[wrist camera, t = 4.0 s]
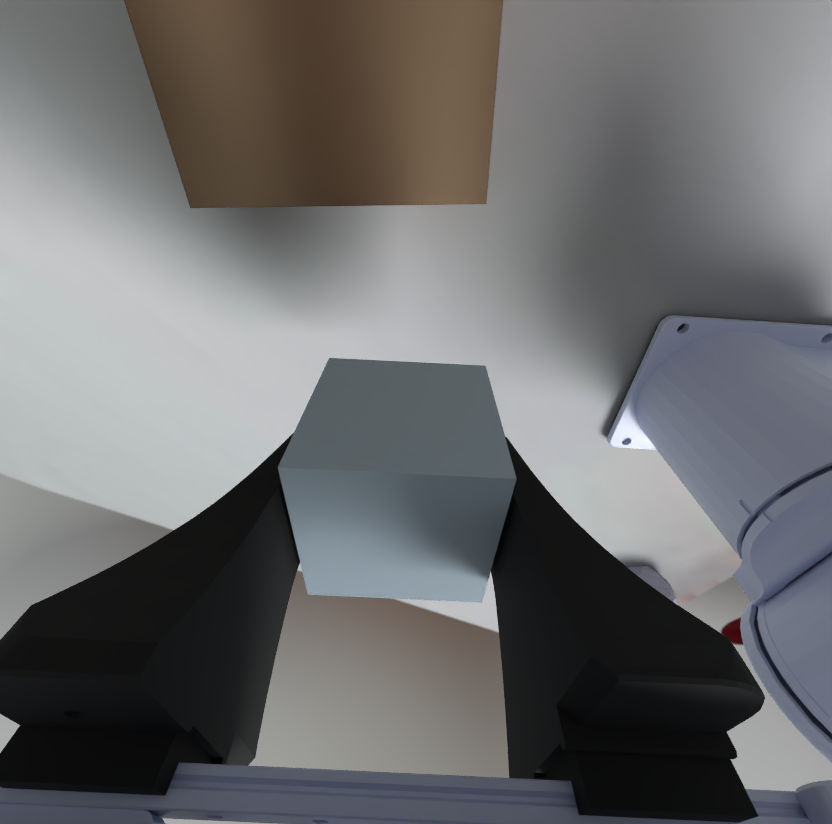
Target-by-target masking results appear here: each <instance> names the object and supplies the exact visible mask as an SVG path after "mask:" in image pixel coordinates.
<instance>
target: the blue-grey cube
mask: <svg viewBox="0 0 832 824" xmlns="http://www.w3.org/2000/svg"><path fill="white" fill-rule="evenodd" d="M278 471H279V475H280V479H281V483H282V488H283V492H284V496H285V500H286V504H287V509H288V513H289V517H290V521H291V525H292V530H293V534H294V538H295V542H296V546H297V551H298V555H299V559H300V563H301V568H302V572H303V576H304V580H305V584H306V588H307V592H308V594H309V595H330V596H352V597H376V598H396V599H417V600H439V601H461V602H482V600H483V596H484V593H485V589H486V586H487V582H488V578H489V575H490V571H491V568H492V564H493V561H494V557H495V554H496V550H497V547H498V543H499V539H500V536H501V532H502V529H503V525H504V522H505V518H506V515H507V511H508V508H509V504H510V501H511V497H512V493H513V490H514V486H515V483H516V479H517V478H516V475H515V471H514V468H513V464H512V460H511V457H510V453H509V449H508V446H507V442H506V439H505V435H504V431H503V428H502V424H501V420H500V417H499V413H498V410H497V406H496V402H495V399H494V395H493V391H492V388H491V384H490V381H489V377H488V373H487V370H486V366H478V365H458V364H438V363H418V362H398V361H378V360H358V359H338V358H329V360H328V362H327V364H326V366H325V368H324V371H323V373H322V375H321V377H320V379H319V381H318V383H317V385H316V387H315V390H314V392H313V394H312V396H311V398H310V400H309V402H308V404H307V407H306V409H305V411H304V413H303V415H302V417H301V419H300V421H299V423H298V426H297V428H296V430H295V432H294V434H293V436H292V438H291V440H290V443H289V445H288V447H287V449H286V451H285V453H284V455H283V457H282V459H281V462H280V464H279V466H278Z"/></svg>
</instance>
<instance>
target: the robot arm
mask: <svg viewBox="0 0 832 824" xmlns="http://www.w3.org/2000/svg"><path fill="white" fill-rule="evenodd" d="M682 324H684V327H683V328H682V329H680V330H678V331H677V329H678V327H679V326H680V325H682ZM825 335H826V336H825ZM824 336H825V337H824ZM823 337H824V338H823ZM293 434H294V433H293ZM293 434H292V435H291V436H290V437H289V438H288V439H287V440H286V441H285V442H284V443H283V444H282V445H281V446H280V447H279V448H278V449H277V450H275V451H274V452H273V453H272V454H271V455H270V456H269V457H268V458H267V459H266V460H265V461H264V462H263V463H262V464H261V465H259V466H258V467H257V468H256V469H255V470H254V471H253V472H252V473H251V474H249V475H248V476H247V477H246V478H245V479H244V480H242V481H241V482H240V483H239V484H238V485H236V486H235V487H234V488H233V489H232V490H230V491H229V492H228V493H227V494H225V495H224V496H223V497H222V498H220V499H219V500H218V501H216V502H215V503H214V504H212V505H211V506H210V507H208V508H207V509H205V510H204V511H203V512H201V513H200V514H198V515H197V516H195V517H194V518H193V519H191V520H190V521H188V522H186V523H185V524H183V525H182V526H180V527H178V528H177V529H175V530H174V531H172V532H171V533H169V534H167V535H166V536H164V537H163V538H161V539H159V540H158V541H156V542H155V543H153V544H151V545H149V546H148V547H146V548H144V549H143V550H141V551H139V552H137V553H135V554H134V555H132V556H130V557H128V558H127V559H125V560H123V561H121V562H119V563H117V564H115V565H114V566H112V567H110V568H108V569H106V570H104V571H102V572H100V573H98V574H96V575H95V576H92V577H90V578H88V579H86V580H84V581H82V582H80V583H78V584H76V585H73V586H71V587H69V588H68V589H65V590H63V591H61V592H59V593H57V594H55V595H53V596H50V597H48V598H46V599H44V600H42V601H40V602H38V603H35V604H33V605H31V606H30V607H29V609H27V611H26V612H25V613H24V614H23V615H22V616H21V617H20V618H19V619H18V621H17V622H16V623H15V624H14V625H13V626H12V628H11V629H10V630H9V631H8V632H7V633H6V634H5V635H4V637H3V638H2V639H1V640H0V714H2V715H4V716H5V717H7V718H9V719H10V720H12V721H14V722H16V723H17V724H19V725H20V727H19V728H18V729H17V731H16V732H15V734H14V735H13V736H12V738H11V739H10V741H9V742H8V743H7V745H6V746H5V748H4V749H3V750H2V752H1V753H0V824H165V823H164V821H163V819H162V818H173V819H193V820H194V819H195V820H214V821H237V822H258V823H279V824H832V780H829V781H828V780H827V781H818V782H813V783H809V784H806V785H803V786H801V787H799V788H797V789H796V791H795V792H793V791H792V792H791V791H770V790H750V789H745V788H744V786H743V784H742V782H741V780H740V778H739V776H738V774H737V772H736V770H735V768H734V766H733V764H732V762H731V760H730V759H734V758H736V757H737V752H736V750H735V748H734V746H733V744H732V742H731V740H730V738H729V736H728V734H727V731H728V730H730V729H732V728H733V727H735V726H737V725H738V724H740V723H742V722H743V721H745V720H747V719H748V718H750V717H752V716H753V715H754V714H755V713H757V712H758V711H759V710H760V709H761V707H762V705H763V703H764V699H765V697H764V694H763V692H762V690H761V688H760V687H759V685H758V683H757V682H756V680H755V679H754V677H753V675H752V674H751V672H750V670H749V669H748V667H747V666H746V664H745V662H744V661H743V659H742V658H741V656H740V655H739V653H738V652H737V650H736V649H735V647H734V646H733V644H732V643H731V641H730V640H729V639H728V638H727V637H725V636H724V635H722V634H721V633H719V632H718V631H716V630H715V629H713V628H711V627H710V626H709V625H707V624H706V623H704V622H703V621H701V620H700V619H698V618H696V617H695V616H693V615H692V614H690V613H689V612H687V611H686V610H684V609H683V608H681V607H680V606H678V605H677V604H675V603H674V602H673V601H671V600H670V599H668V598H667V597H666V596H664V595H663V594H662V593H660V592H659V591H657V590H656V589H655V588H653V587H652V586H651V585H649V584H648V583H646V582H645V581H644V580H643V579H641V578H640V577H639V576H637V575H636V574H635V573H633V572H632V571H631V570H630V569H628V568H627V567H626V566H625V565H624V564H622V563H621V562H620V561H619V560H618V559H616V558H615V557H614V556H613V555H612V554H610V553H609V552H608V551H607V550H606V549H604V548H603V547H602V546H601V545H600V544H599V543H598V542H596V541H595V540H594V539H593V538H592V537H591V536H590V535H589V534H588V533H587V532H586V531H585V530H584V529H583V528H582V527H581V526H580V525H579V524H577V523H576V522H575V521H574V520H573V519H572V518H571V516H570V515H569V514H568V513H567V512H566V511H565V510H564V509H563V508H562V507H561V506H560V505H559V503H558V502H557V501H556V500H555V499H554V498H553V497H552V496H551V494H550V493H549V492H548V491H547V490H546V488H545V487H544V486H543V485H542V483H541V482H540V481H539V480H538V479H537V477H536V476H535V475H534V474H533V472H532V471H531V470H530V468H529V467H528V466H527V464H526V463H525V462H524V460H523V459H522V458H521V456H520V455H519V454H518V452H517V451H516V449H515V448H514V447H513V445H512V444H511V442H510V441H509V440H508V439H507V437H505V439H506V442H507V446H508V449H509V453H510V457H511V460H512V464H513V468H514V471H515V475H516V478H517V479H516V483H515V486H514V490H513V493H512V497H511V501H510V504H509V508H508V511H507V515H506V518H505V522H504V525H503V529H502V532H501V536H500V539H499V543H498V547H497V550H496V554H495V557H494V561H493V564H492V568H491V574H492V578H493V584H494V591H495V598H496V607H497V617H498V626H499V637H500V648H501V658H502V670H503V683H504V697H505V710H506V726H507V741H508V759H509V778H496V777H475V776H454V775H432V774H412V773H390V772H369V771H348V770H326V769H306V768H284V767H264V766H248V765H249V764H250V763H251V762H252V760H253V759H254V758H255V755H256V749H257V744H258V739H259V733H260V728H261V723H262V718H263V713H264V708H265V703H266V698H267V693H268V688H269V684H270V679H271V674H272V669H273V665H274V660H275V655H276V651H277V647H278V642H279V638H280V634H281V629H282V625H283V621H284V617H285V613H286V609H287V605H288V601H289V597H290V593H291V589H292V585H293V582H294V579H295V575H296V572H297V569H298V566H299V564H300V559H299V555H298V551H297V546H296V542H295V538H294V534H293V530H292V525H291V521H290V517H289V513H288V509H287V504H286V500H285V496H284V492H283V488H282V483H281V479H280V475H279V471H278V466H279V464H280V462H281V459H282V457H283V455H284V453H285V451H286V449H287V447H288V445H289V443H290V440H291V438H292V436H293ZM626 438H628V439H627V440H625V441H623V440H624V439H626ZM607 441H608V443H609V444H610V445H611V446H612V447H621V448H637V449H653V450H657V451H658V452H659V453H660V454H661V456H662V457H663V458H664V460H665V461H666V462H667V464H668V465H669V466H670V467H671V469H672V470H673V471H674V473H675V474H676V475H677V476H678V478H679V479H680V480H681V482H682V483H683V484H684V486H685V487H686V488H687V489H688V491H689V492H690V493H691V495H692V496H693V497H694V499H695V500H696V501H697V502H698V504H699V505H700V506H701V508H702V509H703V510H704V511H705V513H706V514H707V515H708V517H709V518H710V519H711V521H712V522H713V523H714V524H715V526H716V527H717V528H718V530H719V531H720V532H721V534H722V535H723V536H724V537H725V539H726V540H727V541H728V543H729V544H730V545H731V547H732V548H733V549H734V550H735V552H736V553H737V554H738V556H739V557H740V558H741V559H742V563H741V565H740V567H739V568H738V569H737V570H736V571H735V572H734V573H733V575H732V576H733V577H734V579H735V580H736V582H737V583H738V584H739V585H740V587H741V588H742V590H743V591H744V593H745V594H746V595H747V597H748V598H749V600H750V601H751V603H750V604H749V605H748V606H747V607H746V608H745V610H744V612H743V614H742V617H741V626H740V629H741V635H742V641H743V644H744V646H745V649H746V652H747V655H748V657H749V659H750V661H751V663H752V665H753V668H754V670H755V672H756V673H757V675H758V677H759V678H760V680H761V682H762V683H763V685H764V687H765V688H766V690H767V691H768V693H769V694H770V695H771V697H772V698H773V699H774V701H775V702H776V704H777V705H778V706H779V708H780V709H781V710H782V711H783V712H784V714H785V715H786V716H787V718H788V719H789V720H790V721H791V722H792V723H793V724H794V726H795V727H796V728H797V729H798V730H799V731H800V732H801V733H802V734H803V735H804V736H805V737H806V738H807V740H808V741H809V742H810V743H811V744H812V745H813V746H814V747H815V748H816V749H817V750H818V751H819V752H820V753H822V754H823V755H824V756H825V757H826V758H827V759H828V760H829V761H830V762H832V326H828V325H813V324H798V323H783V322H768V321H752V320H737V319H722V318H707V317H692V316H677V315H672V316H668V317H666V318H664V319H663V320H662V321H661V322H660V324H659V325H658V327H657V330H656V332H655V334H654V336H653V338H652V341H651V343H650V345H649V347H648V349H647V351H646V354H645V356H644V358H643V360H642V362H641V365H640V367H639V369H638V371H637V373H636V376H635V378H634V380H633V382H632V384H631V386H630V389H629V391H628V393H627V395H626V397H625V400H624V402H623V404H622V406H621V408H620V411H619V413H618V415H617V417H616V419H615V422H614V424H613V426H612V428H611V430H610V432H609V435H608V437H607Z"/></svg>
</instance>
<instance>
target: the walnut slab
mask: <svg viewBox="0 0 832 824" xmlns="http://www.w3.org/2000/svg"><path fill="white" fill-rule="evenodd" d="M124 1H125V5H126V8H127V11H128V14H129V17H130V20H131V23H132V26H133V30H134V33H135V36H136V39H137V42H138V45H139V48H140V51H141V55H142V58H143V61H144V64H145V67H146V70H147V73H148V76H149V80H150V83H151V86H152V89H153V92H154V95H155V98H156V102H157V105H158V108H159V111H160V114H161V117H162V120H163V123H164V127H165V130H166V133H167V136H168V139H169V142H170V145H171V148H172V152H173V155H174V158H175V161H176V164H177V167H178V170H179V173H180V177H181V180H182V183H183V186H184V189H185V192H186V195H187V198H188V202H189V205H190V208H219V207H292V206H366V205H439V204H486V200H487V188H488V176H489V164H490V152H491V140H492V128H493V116H494V103H495V91H496V79H497V67H498V55H499V43H500V31H501V19H502V7H503V0H124Z"/></svg>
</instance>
